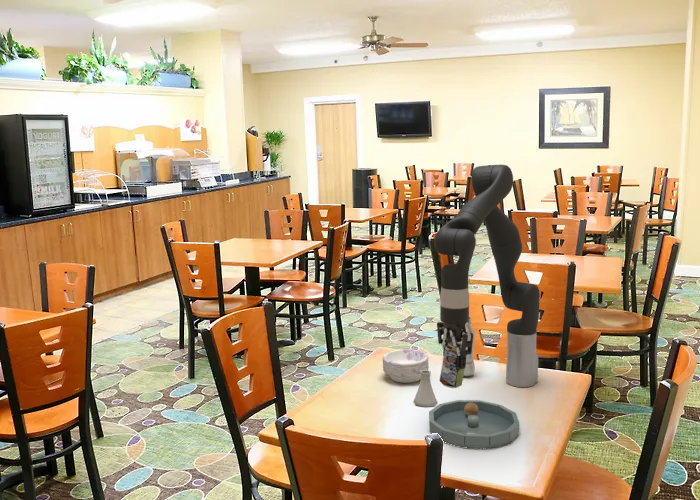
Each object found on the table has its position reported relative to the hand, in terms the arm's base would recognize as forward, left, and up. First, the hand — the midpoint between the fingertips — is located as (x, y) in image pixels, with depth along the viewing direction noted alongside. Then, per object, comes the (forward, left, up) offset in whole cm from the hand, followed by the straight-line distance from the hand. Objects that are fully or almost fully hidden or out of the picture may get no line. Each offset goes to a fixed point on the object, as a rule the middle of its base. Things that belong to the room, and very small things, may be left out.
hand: (454, 364), depth 181 cm
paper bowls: (-9, -43, -20) cm, 48 cm away
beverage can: (0, 0, -6) cm, 6 cm away
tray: (-6, 0, -20) cm, 21 cm away
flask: (-4, -22, -20) cm, 30 cm away
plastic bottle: (-28, -36, -20) cm, 50 cm away
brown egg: (-9, -5, -19) cm, 22 cm away
